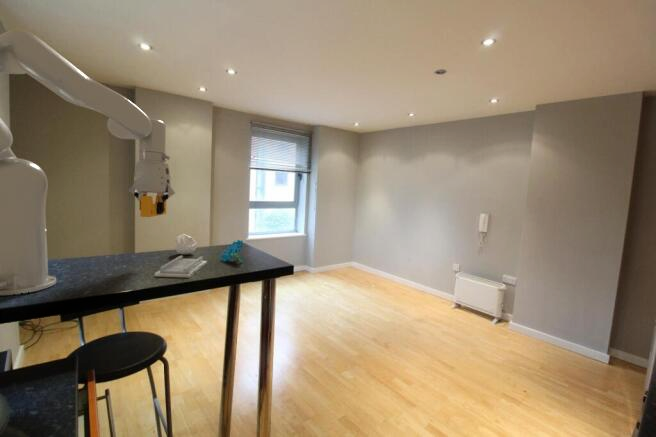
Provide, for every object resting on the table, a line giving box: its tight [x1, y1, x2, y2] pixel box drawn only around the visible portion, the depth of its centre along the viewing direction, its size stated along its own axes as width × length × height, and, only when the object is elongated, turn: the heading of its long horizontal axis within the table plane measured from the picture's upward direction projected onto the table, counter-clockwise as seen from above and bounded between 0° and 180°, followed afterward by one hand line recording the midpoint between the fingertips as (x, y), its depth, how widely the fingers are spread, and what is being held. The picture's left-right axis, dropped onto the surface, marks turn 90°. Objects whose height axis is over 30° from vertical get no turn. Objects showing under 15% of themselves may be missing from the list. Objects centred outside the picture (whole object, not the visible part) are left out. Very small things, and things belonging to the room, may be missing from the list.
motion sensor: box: [173, 233, 198, 256], centre depth 117 cm, size 8×8×8 cm
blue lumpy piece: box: [220, 239, 244, 263], centre depth 112 cm, size 11×6×10 cm
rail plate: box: [154, 255, 208, 279], centre depth 98 cm, size 16×10×3 cm, turn 4°
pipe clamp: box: [140, 194, 167, 218], centre depth 101 cm, size 12×4×6 cm, turn 5°
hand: (152, 212), depth 102 cm, fingers closed on pipe clamp, 4 cm apart
